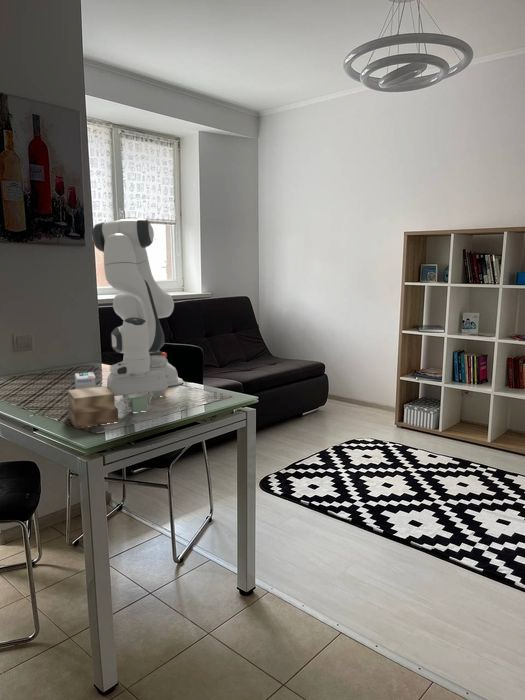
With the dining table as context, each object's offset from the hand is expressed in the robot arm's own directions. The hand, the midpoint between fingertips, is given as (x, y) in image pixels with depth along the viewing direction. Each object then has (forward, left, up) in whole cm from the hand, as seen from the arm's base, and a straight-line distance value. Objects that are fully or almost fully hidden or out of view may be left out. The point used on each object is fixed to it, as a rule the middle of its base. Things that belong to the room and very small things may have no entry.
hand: (138, 405), depth 177 cm
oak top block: (+16, +4, +3) cm, 17 cm away
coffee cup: (-12, -18, -2) cm, 22 cm away
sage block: (0, 0, -2) cm, 2 cm away
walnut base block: (+16, +4, -2) cm, 17 cm away
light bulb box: (+14, -18, -2) cm, 23 cm away
